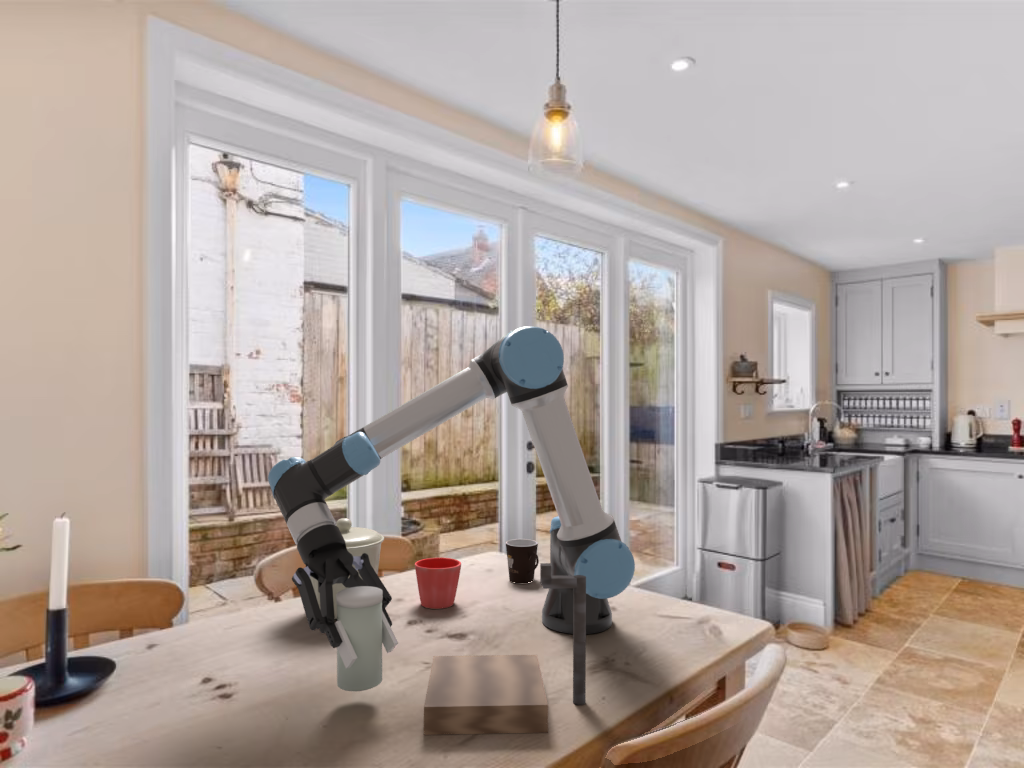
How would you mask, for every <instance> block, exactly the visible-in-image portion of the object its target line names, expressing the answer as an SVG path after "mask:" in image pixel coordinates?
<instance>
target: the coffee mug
mask: <svg viewBox="0 0 1024 768" xmlns="http://www.w3.org/2000/svg"><path fill="white" fill-rule="evenodd" d="M538 544H539V543H538V541H536V540H533V539H528V538H514V539H509V540H507V541H505V550H506V559H507V568H508V579H509V582H510V581H512V582H515V583H514V584H516V583H528V582H531V581H533V580H534V579H535V571H536V569H537V568H538V566H539V556H538V554H537V553H538V546H539V545H538ZM512 582H511V583H512ZM533 582H534V581H533ZM528 584H529V583H528Z"/></svg>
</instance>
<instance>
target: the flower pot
mask: <svg viewBox="0 0 1024 768" xmlns="http://www.w3.org/2000/svg"><path fill="white" fill-rule="evenodd" d="M414 567H415V569H414V570H415V576H416V582H417V589H418V595H419V600H420V605H421V607H424V608H426V609H431V610H441V609H442V610H443V609H447V608H450V607H452V606H453V605H454V604H455V600H456V595H457V592H458V591H457V590H458V586H459V580H460V575H461V568H462V562H461V561H460V560H458V559H455V558H451V557H450V558H449V557H429V558H424V559H420V560H418V561H416V562H415V563H414Z"/></svg>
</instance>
